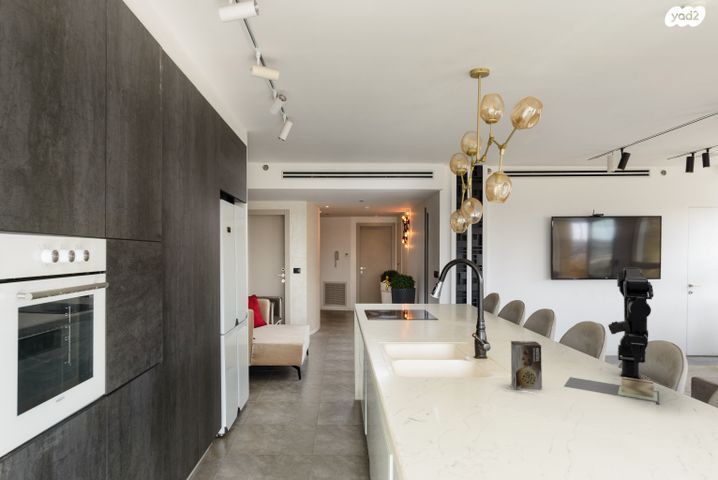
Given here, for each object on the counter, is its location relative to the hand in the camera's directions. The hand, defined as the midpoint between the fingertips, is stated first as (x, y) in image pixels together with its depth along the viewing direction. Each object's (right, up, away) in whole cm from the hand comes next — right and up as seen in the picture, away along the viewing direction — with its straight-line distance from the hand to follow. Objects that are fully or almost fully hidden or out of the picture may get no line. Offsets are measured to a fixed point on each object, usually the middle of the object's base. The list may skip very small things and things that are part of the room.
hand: (637, 360), depth 145 cm
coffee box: (-36, -12, +6) cm, 38 cm away
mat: (-7, -12, +4) cm, 14 cm away
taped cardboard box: (0, -11, 0) cm, 11 cm away
